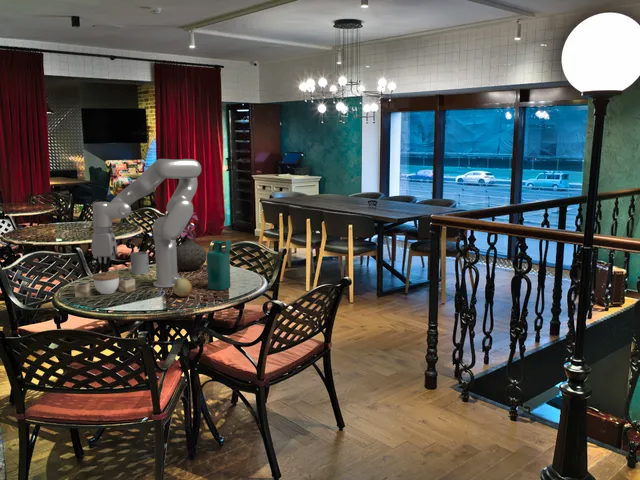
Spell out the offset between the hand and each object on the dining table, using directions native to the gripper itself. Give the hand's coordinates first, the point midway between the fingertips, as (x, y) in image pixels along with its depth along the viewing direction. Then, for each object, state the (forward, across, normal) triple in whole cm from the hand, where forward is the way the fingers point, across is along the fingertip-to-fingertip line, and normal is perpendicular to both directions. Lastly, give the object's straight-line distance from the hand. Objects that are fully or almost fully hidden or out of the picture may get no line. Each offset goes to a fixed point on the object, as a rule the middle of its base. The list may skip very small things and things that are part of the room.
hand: (105, 271), depth 255 cm
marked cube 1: (+10, +7, +7) cm, 13 cm away
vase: (+9, -12, -53) cm, 56 cm away
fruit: (+9, -36, -2) cm, 38 cm away
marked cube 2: (+9, -6, -6) cm, 13 cm away
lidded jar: (+10, 0, 0) cm, 10 cm away
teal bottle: (+9, -45, -20) cm, 51 cm away
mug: (+9, +10, -42) cm, 44 cm away
